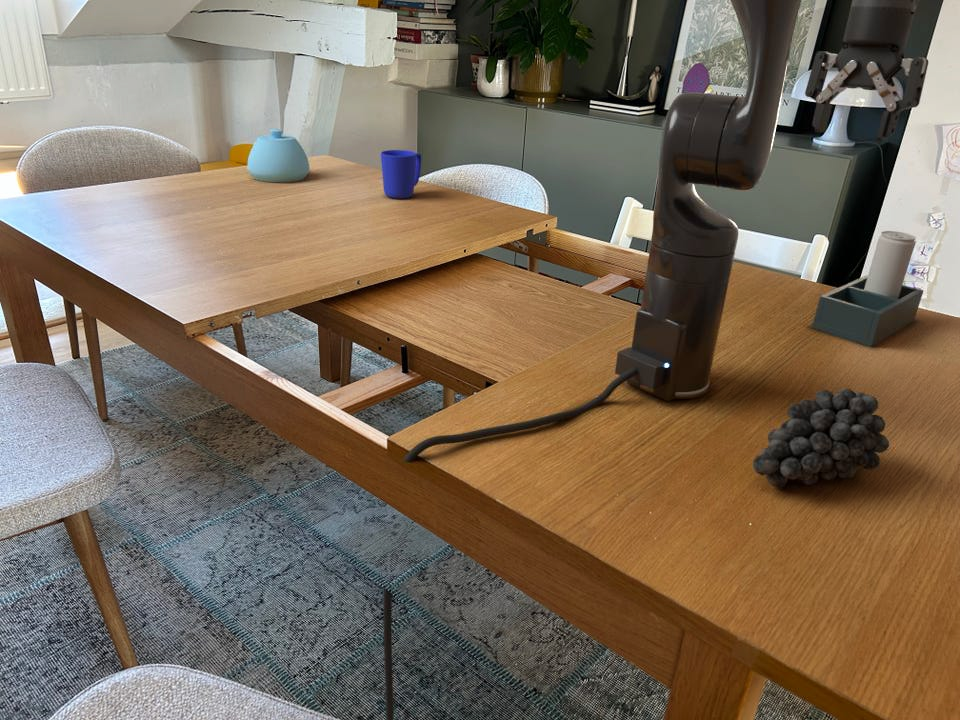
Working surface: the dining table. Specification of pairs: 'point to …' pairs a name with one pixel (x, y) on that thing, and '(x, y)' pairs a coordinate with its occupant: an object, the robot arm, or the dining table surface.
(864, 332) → the divided storage box
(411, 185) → the mug
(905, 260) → the beverage can
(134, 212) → the dining table surface
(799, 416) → the fruit
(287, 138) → the sugar bowl
